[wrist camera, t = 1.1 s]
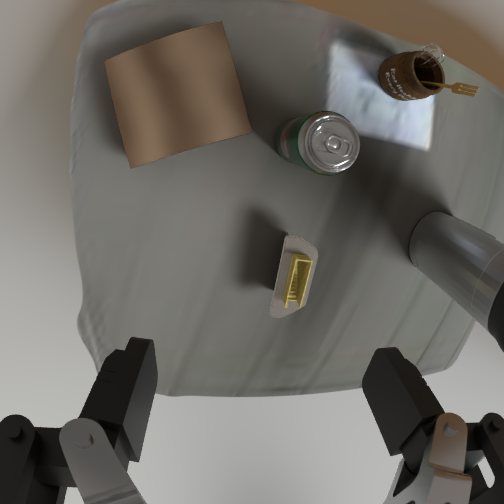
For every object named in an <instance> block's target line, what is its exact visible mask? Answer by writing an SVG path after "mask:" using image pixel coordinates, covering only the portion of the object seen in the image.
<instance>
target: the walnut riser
mask: <svg viewBox="0 0 504 504" xmlns="http://www.w3.org/2000/svg"><path fill="white" fill-rule="evenodd" d="M104 63H105V68H106V73H107V78H108V83H109V87H110V92H111V96H112V101H113V105H114V109H115V113H116V117H117V121H118V125H119V129H120V133H121V137H122V140H123V144H124V147H125V151H126V155H127V158H128V161H129V165H130V168H131V169H132V168H135V167H138V166H141V165H144V164H147V163H150V162H152V161H155V160H158V159H161V158H164V157H167V156H170V155H173V154H177V153H180V152H183V151H186V150H189V149H193V148H196V147H200V146H203V145H206V144H210V143H214V142H217V141H221V140H225V139H229V138H233V137H236V136H240V135H245V134H249V133H252V130H251V126H250V122H249V118H248V114H247V111H246V107H245V103H244V99H243V95H242V92H241V88H240V84H239V81H238V77H237V73H236V70H235V66H234V62H233V59H232V55H231V52H230V48H229V45H228V41H227V38H226V34H225V31H224V27H223V24H222V21H221V22H216V23H212V24H208V25H204V26H200V27H196V28H192V29H189V30H185V31H182V32H178V33H175V34H172V35H169V36H166V37H163V38H160V39H157V40H154V41H151V42H149V43H146V44H143V45H141V46H138V47H136V48H133V49H131V50H128V51H126V52H123V53H121V54H119V55H116V56H114V57H112V58H110V59H108V60H105V61H104Z"/></svg>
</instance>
